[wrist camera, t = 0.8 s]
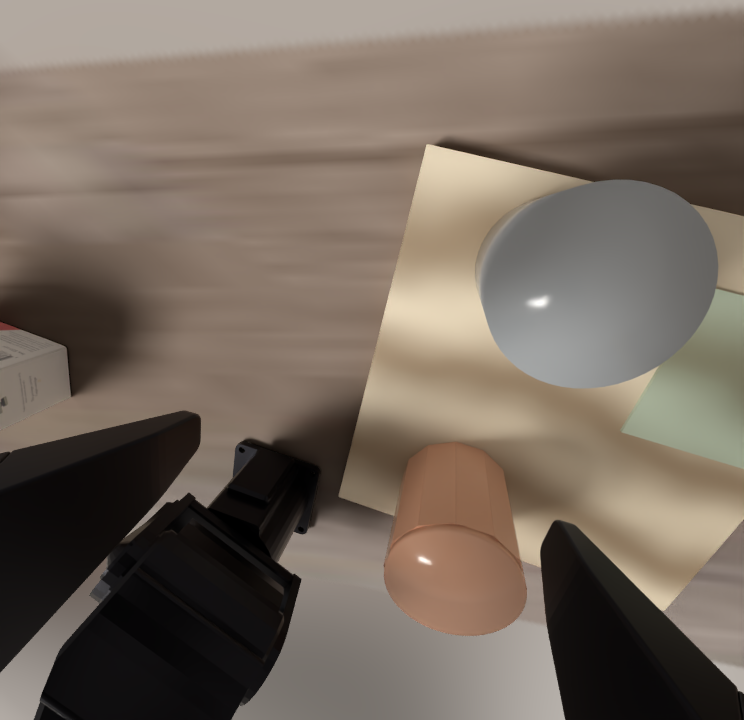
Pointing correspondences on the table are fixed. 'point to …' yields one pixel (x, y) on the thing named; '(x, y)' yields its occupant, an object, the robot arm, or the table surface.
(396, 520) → the peach domed cylinder
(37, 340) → the ink cartridge box
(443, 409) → the birch board
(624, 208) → the grey rounded piece
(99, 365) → the table surface
